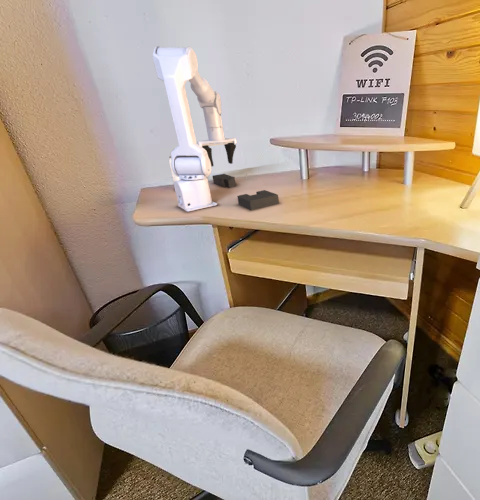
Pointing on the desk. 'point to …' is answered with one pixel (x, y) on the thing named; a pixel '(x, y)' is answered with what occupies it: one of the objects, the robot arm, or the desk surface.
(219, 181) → the tab pad
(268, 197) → the notch pad
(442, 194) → the desk surface
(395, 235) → the desk surface
